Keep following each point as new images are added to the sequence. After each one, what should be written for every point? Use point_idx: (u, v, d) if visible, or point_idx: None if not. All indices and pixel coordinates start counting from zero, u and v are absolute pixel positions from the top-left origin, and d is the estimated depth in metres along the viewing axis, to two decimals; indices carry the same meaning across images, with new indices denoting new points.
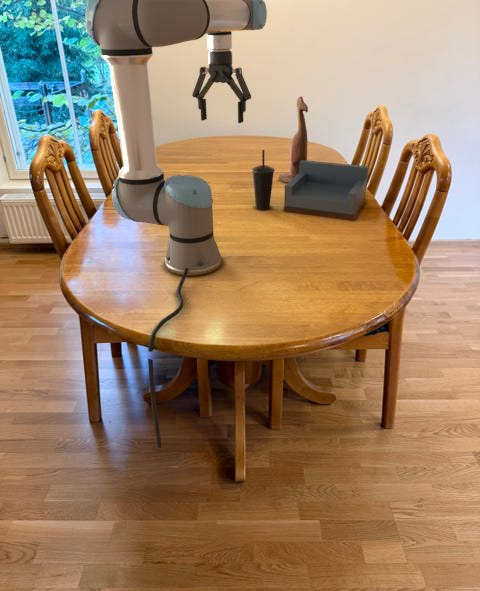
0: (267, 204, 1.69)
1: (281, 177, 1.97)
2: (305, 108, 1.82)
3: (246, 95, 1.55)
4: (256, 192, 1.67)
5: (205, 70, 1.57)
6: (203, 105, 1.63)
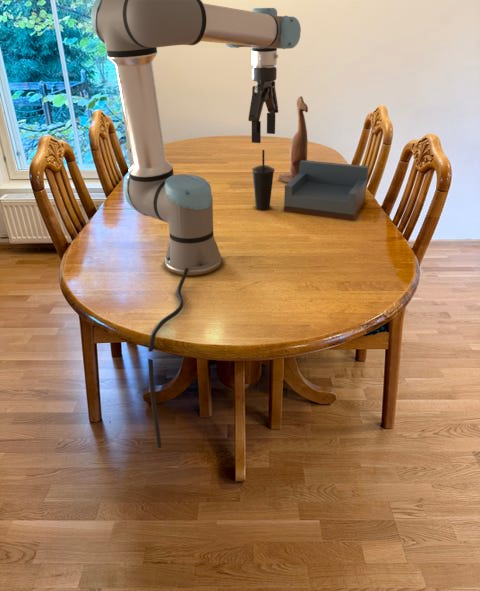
0: (267, 204, 1.69)
1: (281, 177, 1.97)
2: (305, 108, 1.82)
3: None
4: (256, 192, 1.67)
5: None
6: (269, 119, 1.62)
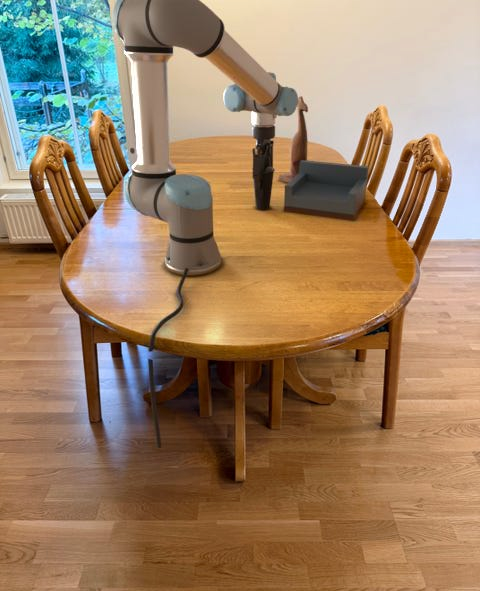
0: (267, 204, 1.69)
1: (281, 177, 1.97)
2: (305, 108, 1.82)
3: None
4: None
5: None
6: None
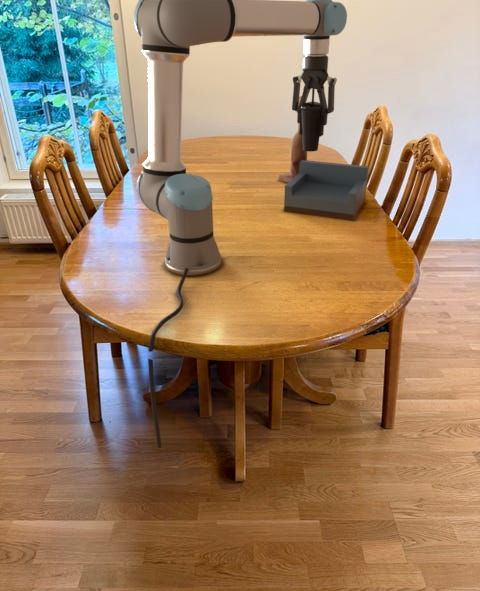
0: None
1: (281, 177, 1.97)
2: None
3: (330, 108, 1.50)
4: (317, 131, 1.55)
5: (298, 78, 1.51)
6: None
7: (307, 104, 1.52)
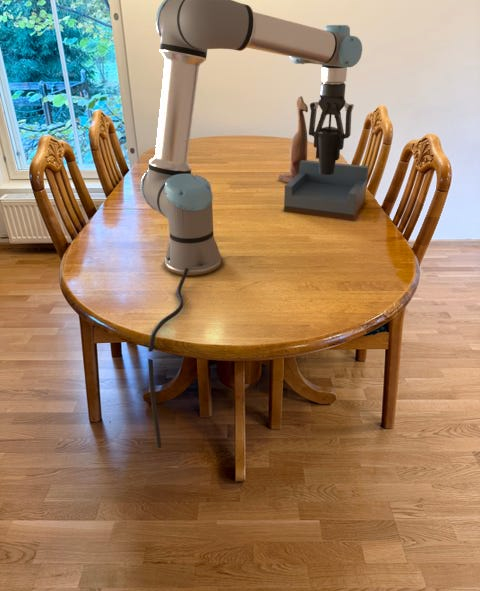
0: None
1: (281, 177, 1.97)
2: (305, 108, 1.82)
3: (347, 133, 1.54)
4: (334, 155, 1.59)
5: (315, 104, 1.54)
6: None
7: (325, 129, 1.55)
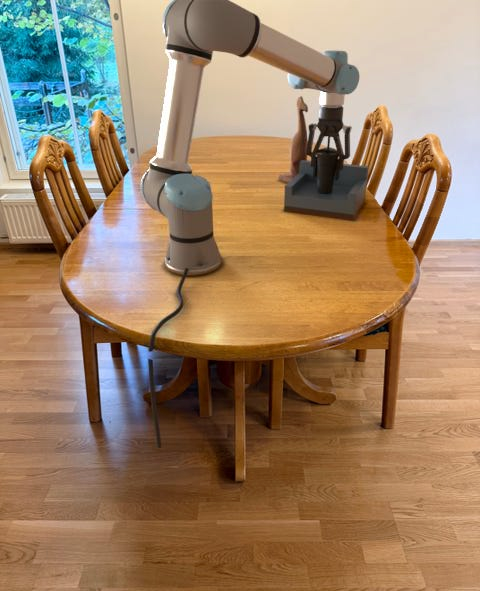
0: None
1: (281, 177, 1.97)
2: (305, 108, 1.82)
3: (347, 154, 1.57)
4: (332, 175, 1.62)
5: (314, 126, 1.58)
6: (316, 163, 1.63)
7: (323, 150, 1.58)
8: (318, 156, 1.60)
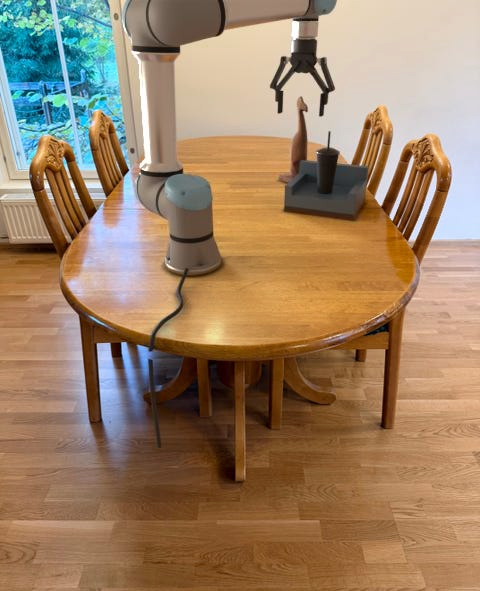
0: None
1: (281, 177, 1.97)
2: (305, 108, 1.82)
3: (330, 86, 1.46)
4: (332, 175, 1.62)
5: (286, 60, 1.48)
6: (281, 97, 1.54)
7: (323, 150, 1.58)
8: (318, 156, 1.60)
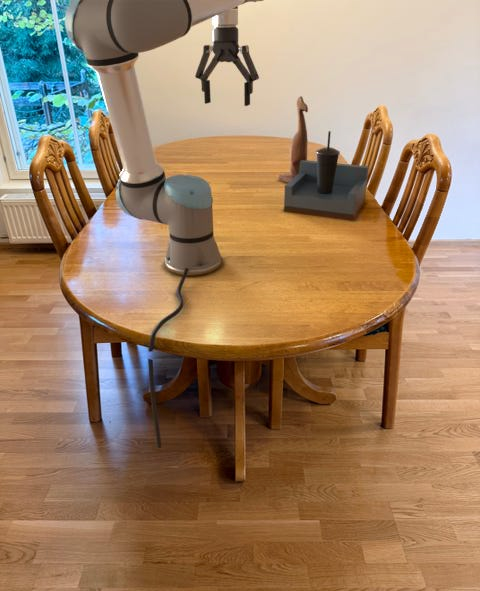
0: None
1: (281, 177, 1.97)
2: (305, 108, 1.82)
3: (253, 75, 1.44)
4: (332, 175, 1.62)
5: (209, 48, 1.46)
6: (207, 87, 1.52)
7: (323, 150, 1.58)
8: (318, 156, 1.60)
